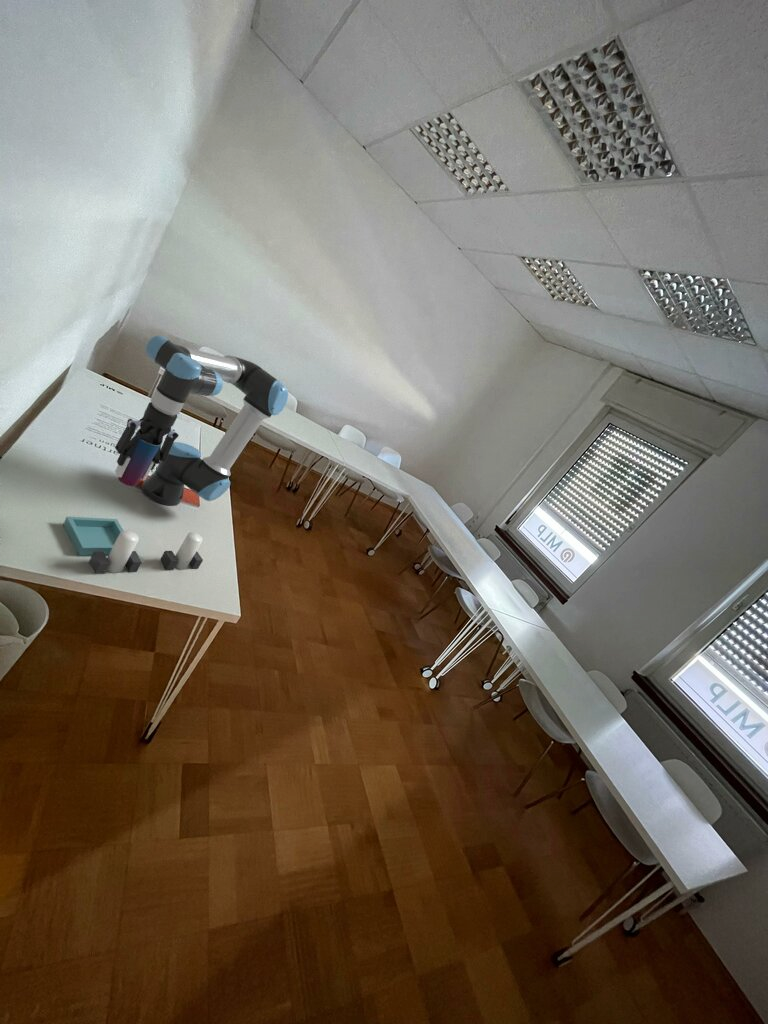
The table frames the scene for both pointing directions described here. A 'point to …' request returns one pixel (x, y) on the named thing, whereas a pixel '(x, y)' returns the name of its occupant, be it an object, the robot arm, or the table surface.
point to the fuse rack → (130, 559)
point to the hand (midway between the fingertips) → (130, 475)
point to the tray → (92, 534)
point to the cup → (139, 461)
